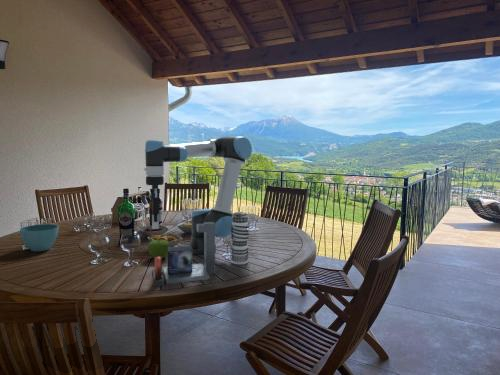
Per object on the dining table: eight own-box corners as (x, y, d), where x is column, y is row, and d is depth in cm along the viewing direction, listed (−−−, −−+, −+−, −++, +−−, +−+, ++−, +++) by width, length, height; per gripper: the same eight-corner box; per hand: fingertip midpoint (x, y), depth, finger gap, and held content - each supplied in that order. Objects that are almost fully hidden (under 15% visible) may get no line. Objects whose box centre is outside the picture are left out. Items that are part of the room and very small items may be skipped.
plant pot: (49, 243, 202) (48, 222, 201) (66, 248, 192) (65, 226, 191) (14, 250, 187) (13, 228, 186) (30, 256, 177) (29, 233, 176)
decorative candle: (252, 261, 174) (253, 212, 171) (238, 265, 168) (238, 215, 165) (240, 257, 181) (241, 210, 178) (226, 261, 175) (227, 212, 172)
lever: (153, 278, 147) (153, 256, 146) (162, 277, 148) (162, 255, 147) (154, 281, 143) (153, 259, 142) (163, 280, 144) (162, 258, 143)
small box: (168, 274, 149) (167, 251, 148) (167, 269, 155) (166, 247, 154) (192, 272, 152) (192, 249, 151) (191, 267, 158) (190, 245, 157)
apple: (168, 254, 184) (168, 236, 183) (170, 260, 174) (170, 241, 173) (147, 256, 181) (147, 237, 180) (148, 262, 171) (147, 242, 170)
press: (152, 271, 158) (151, 222, 155) (209, 266, 167) (209, 219, 164) (155, 286, 141) (154, 231, 138) (218, 279, 150) (219, 227, 147)
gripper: (145, 174, 157) (146, 225, 160) (146, 177, 145) (147, 232, 147) (162, 174, 160) (162, 224, 162) (165, 176, 147) (165, 231, 150)
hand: (155, 228), depth 155 cm, fingers closed
